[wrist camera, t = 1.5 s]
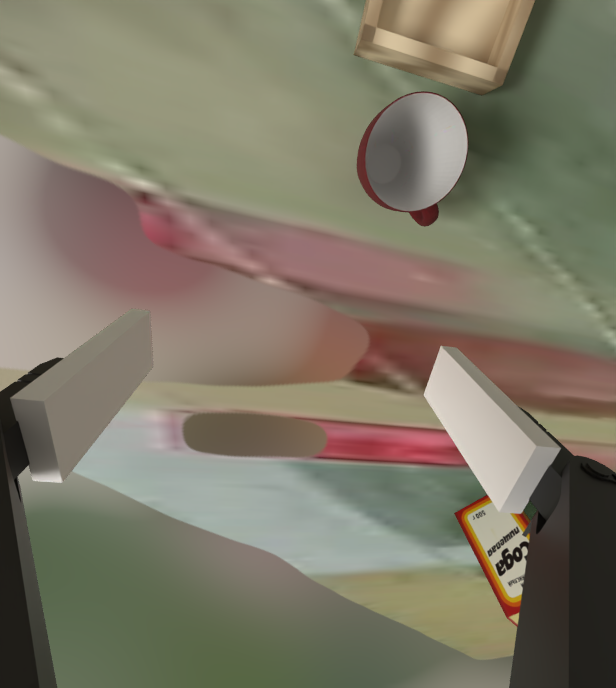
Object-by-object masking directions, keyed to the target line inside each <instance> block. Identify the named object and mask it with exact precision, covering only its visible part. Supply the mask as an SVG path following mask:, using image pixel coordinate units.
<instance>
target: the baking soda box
mask: <svg viewBox="0 0 616 688" xmlns="http://www.w3.org/2000/svg"><path fill="white" fill-rule="evenodd" d="M454 514H455V516H456V518H457V520H458V522H459V524H460V526H461V528H462V530H463V532H464V534H465V536H466V538H467V540H468V542H469V544H470V546H471V548H472V550H473V552H474V554H475V555H476V557H477V559H478V561H479V563H480V565H481V567H482V569H483V571H484V573H485V575H486V577H487V579H488V581H489V583H490V585H491V587H492V589H493V591H494V593H495V595H496V597H497V599H498V601H499V603H500V605H501V607H502V609H503V611H504V613H505V615H506V617H507V619H509V620H510V621H511V622H512V623H513V624H515V625H516V626H517V627H518V619H519V612H520V605H521V597H522V590H523V582H524V575H525V568H526V560H527V553H528V546H529V538H530V533H529V534H528V535H527V536H526V537H524V536H523V535H522V534H523V532H524V531H525V529H526V527H527V526H528V524H529V523H530V520H529V518H528V517H527V515H526V514H525V513H524V511H523V512H522V513H521V514H516V513H502V512H499V511H498V510H497V508H496V507H495V505H494V504H493V502H492V501H491V499H490V497H489V496H488V495H486V496H485V497H483V498H481V499H479V500H477V501H476V502H474V503H472V504H470V505H468V506H467V507H465V508H463V509H461V510H459V511H458V512H456V513H454Z"/></svg>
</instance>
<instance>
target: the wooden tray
mask: <svg viewBox="0 0 616 688" xmlns="http://www.w3.org/2000/svg"><path fill="white" fill-rule="evenodd" d="M534 2H535V0H366V3H365V7H364V12H363V16H362V21H361V25H360V30H359V34H358V39H357V43H356V48H355V52H354V55H355V56H359V57H362V58H365V59H368V60H371V61H374V62H378V63H381V64H384V65H387V66H390V67H393V68H397V69H400V70H403V71H406V72H409V73H412V74H416V75H419V76H422V77H425V78H428V79H431V80H435V81H438V82H441V83H444V84H447V85H450V86H454V87H457V88H460V89H463V90H466V91H469V92H473V93H476V94H479V95H483V94H485V93H487V92H490V91H492V90H494V89H496V88H498V87H500V86H502V85H503V83H504V80H505V78H506V75H507V72H508V70H509V67H510V65H511V62H512V59H513V57H514V54H515V52H516V49H517V46H518V44H519V41H520V39H521V36H522V33H523V31H524V28H525V26H526V23H527V20H528V18H529V15H530V13H531V10H532V7H533V5H534Z"/></svg>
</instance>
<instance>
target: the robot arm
mask: <svg viewBox="0 0 616 688" xmlns="http://www.w3.org/2000/svg"><path fill="white" fill-rule="evenodd" d="M152 368H153V351H152V333H151V314H150V311H148V310H139V309H130V310H129V311H128V312H126V313H125V314H124V315H122V316H121V317H119V318H118V319H117V320H115V321H114V322H113V323H111V324H110V325H109V326H107V327H106V328H105V329H103V330H102V331H100V332H99V333H98V334H96V335H95V336H94V337H92V338H91V339H90V340H88V341H87V342H86V343H84V344H83V345H81V346H80V347H79V348H77V349H76V350H75V351H73V352H72V353H71V354H69V355H68V356H67V357H65V358H55V359H52V360H50V361H47V362H45V363H42V364H40V365H38V366H37V367H35V368H34V369H33V370H31V371H30V372H28V374H27V375H26V374H25V375H24V376H22V377H21V378H20V379H18V381H17V382H14V383H12V384H11V385H9V386H8V387H7V388H5V389H4V390H2V391H1V392H0V688H57V684H56V678H55V673H54V667H53V662H52V657H51V652H50V646H49V640H48V635H47V630H46V624H45V619H44V613H43V608H42V603H41V597H40V592H39V586H38V581H37V576H36V570H35V564H34V559H33V554H32V548H31V543H30V537H29V532H28V527H27V521H26V517H25V511H24V505H23V500H22V495H21V489H20V484H19V481H18V477H17V476H18V475H19V474H20V473H21V472H22V471H23V470H24V469H25V468H26V467H27V466H28V465H29V468H30V472H31V476H32V479H33V481H44V482H59V483H62V482H63V481H64V480H65V479H66V477H67V476H68V475H69V474H70V472H71V471H72V470H73V469H74V467H75V466H76V465H77V463H78V462H79V461H80V460H81V458H82V457H83V456H84V455H85V453H86V452H87V451H88V449H89V448H90V447H91V446H92V444H93V443H94V442H95V441H96V439H97V438H98V437H99V435H100V434H101V433H102V432H103V430H104V429H105V428H106V427H107V425H108V424H109V423H110V421H111V420H112V419H113V418H114V416H115V415H116V414H117V413H118V411H119V410H120V409H121V407H122V406H123V405H124V404H125V402H126V401H127V400H128V399H129V397H130V396H131V395H132V393H133V392H134V391H135V390H136V388H137V387H138V386H139V385H140V383H141V382H142V381H143V379H144V378H145V377H146V376H147V374H148V373H149V372H150V370H151V369H152ZM424 396H425V398H426V399H427V401H428V402H429V404H430V406H431V407H432V409H433V410H434V412H435V413H436V415H437V416H438V418H439V420H440V421H441V423H442V424H443V426H444V427H445V429H446V430H447V432H448V434H449V435H450V437H451V438H452V440H453V441H454V443H455V445H456V446H457V448H458V449H459V451H460V452H461V454H462V455H463V457H464V459H465V460H466V462H467V463H468V465H469V466H470V468H471V469H472V471H473V473H474V474H475V476H476V477H477V479H478V480H479V482H480V483H481V485H482V487H483V488H484V490H485V491H486V493H487V494H488V496H489V497H490V499H491V501H492V502H493V504H494V505H495V507H496V508H497V510H498V511H499V512H502V513H516V514H521V513H522V512H523V510H524V508H525V507H526V505H527V503H528V502H529V500H530V501H531V502H532V504H533V505H534V506H535V507H536V509H537V512H536V513H535V515H534V516H533V518H532V520H531V521H530V523H529V524H528V526H527V527H526V529H525V531H524V532H523V534H522V535H523V536H524V537H526V536H527V535H528V534H529V533H530V538H529V546H528V553H527V560H526V568H525V575H524V582H523V590H522V597H521V605H520V612H519V619H518V627H517V634H516V641H515V649H514V656H513V664H512V671H511V678H510V686H509V688H616V473H615V472H613V471H612V470H611V469H609V468H608V467H606V466H605V465H603V464H601V463H599V462H597V461H595V460H592V459H589V458H587V457H582V456H574V455H573V454H572V453H570V452H569V451H568V450H567V449H566V448H565V447H564V446H563V445H562V444H561V443H560V442H559V441H558V440H557V439H556V438H555V437H554V436H552V435H551V434H550V433H549V432H547V431H546V429H545V428H544V427H543V426H542V425H541V424H538V421H537V420H535V419H534V418H533V417H532V416H531V415H530V414H529V413H528V412H526V411H525V410H523V409H522V408H520V407H518V406H517V405H515V404H514V403H513V402H512V401H511V400H510V399H509V398H508V397H507V396H506V395H505V394H504V393H503V392H502V391H501V390H500V389H499V388H498V387H497V386H496V385H495V384H494V383H493V382H492V381H490V380H489V379H488V378H487V377H486V376H485V375H484V374H483V373H482V372H481V371H480V370H479V369H478V368H477V367H476V366H475V365H474V364H473V363H472V362H471V361H470V360H469V359H468V358H467V357H465V356H464V355H463V354H462V353H461V352H460V351H459V350H458V349H457V348H454V347H446V346H441V347H440V350H439V353H438V356H437V359H436V362H435V364H434V367H433V370H432V373H431V376H430V379H429V381H428V384H427V387H426V390H425V393H424Z"/></svg>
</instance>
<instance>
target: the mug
mask: <svg viewBox="0 0 616 688" xmlns="http://www.w3.org/2000/svg"><path fill="white" fill-rule="evenodd" d="M467 154H468V133H467V128H466V124H465V122H464V119H463V117H462V115H461V113H460V112H459V110H458V109H457V108H456V106H455V105H454V104H453V103H452V102H451V101H449V100H448V99H447V98H445V97H443V96H441V95H439V94H436V93H432V92H415V93H410V94H407V95H405V96H402V97H400V98H398V99H397V100H395V101H394V102H392V103H391V104H389V105H388V106H387V107H385V108H384V109H383V110H382V111H381V112H380V113H379V114H378V115H377V116H376V117H375V118H374V119H373V120H372V122H371V123H370V124H369V126H368V128H367V129H366V131H365V133H364V135H363V138H362V140H361V143H360V146H359V150H358V157H357V173H358V177H359V180H360V182H361V184H362V186H363V188H364V190H365V191H366V193H367V194H368V195H369V197H370V198H371V199H372V200H373V201H375V202H376V203H377V204H379V205H380V206H382V207H384V208H387V209H390V210H394V211H400V212H409V213H410V215H411V216H412V218H413V219H414V220H415V221H416V222H417V223H418V224H419V225H421V226H429V225H431V224H432V223H434V222H435V221H436V219H437V218H438V214H439V210H438V206H437V203H438V202H439V201H441V200H442V199H443V198H444V197H445V196H447V195H448V193H449V192H450V191H451V190H452V189H453V188H454V186H455V185H456V183H457V182H458V180H459V178H460V176H461V174H462V172H463V169H464V167H465V163H466V160H467Z"/></svg>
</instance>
